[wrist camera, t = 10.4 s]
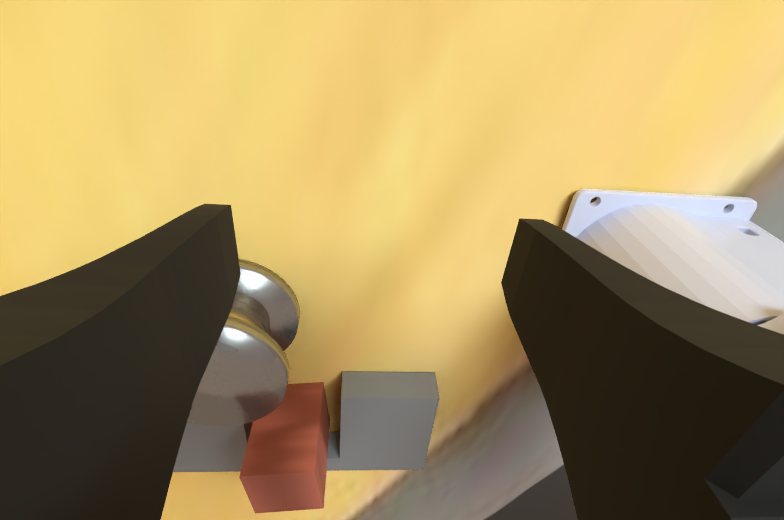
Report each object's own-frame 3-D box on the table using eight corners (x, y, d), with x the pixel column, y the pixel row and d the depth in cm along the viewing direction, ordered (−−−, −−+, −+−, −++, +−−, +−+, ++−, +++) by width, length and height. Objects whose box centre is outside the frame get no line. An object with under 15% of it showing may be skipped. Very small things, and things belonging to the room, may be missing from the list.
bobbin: (297, 260, 22) (281, 326, 18) (302, 354, 26) (290, 426, 22) (157, 255, 22) (108, 323, 17) (183, 352, 25) (148, 426, 21)
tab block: (323, 382, 28) (314, 471, 23) (330, 419, 30) (323, 508, 25) (261, 386, 28) (239, 476, 23) (273, 423, 30) (255, 513, 25)
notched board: (434, 372, 28) (439, 397, 26) (420, 444, 32) (423, 469, 30) (146, 369, 26) (131, 396, 24) (172, 444, 30) (162, 472, 29)
